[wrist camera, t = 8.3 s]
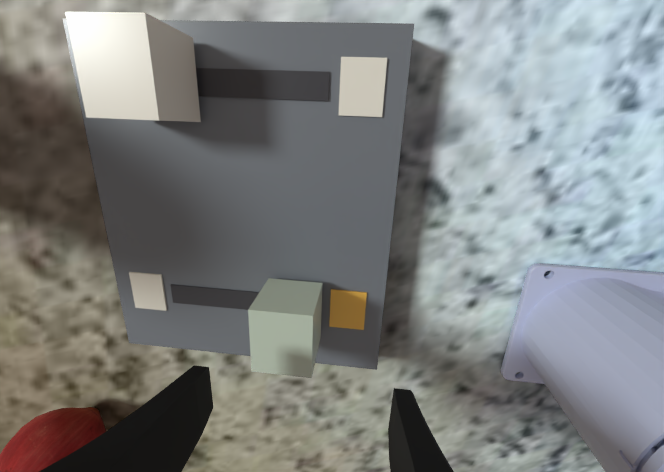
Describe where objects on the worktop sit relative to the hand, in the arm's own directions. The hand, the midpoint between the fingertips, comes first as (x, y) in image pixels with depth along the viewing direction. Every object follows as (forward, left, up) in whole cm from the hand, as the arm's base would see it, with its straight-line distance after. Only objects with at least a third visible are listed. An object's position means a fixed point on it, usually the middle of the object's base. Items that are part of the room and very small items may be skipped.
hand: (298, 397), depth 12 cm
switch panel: (+5, -5, -8) cm, 11 cm away
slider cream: (+8, -12, -6) cm, 15 cm away
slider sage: (+2, 0, -6) cm, 6 cm away
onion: (+19, +13, -9) cm, 24 cm away
